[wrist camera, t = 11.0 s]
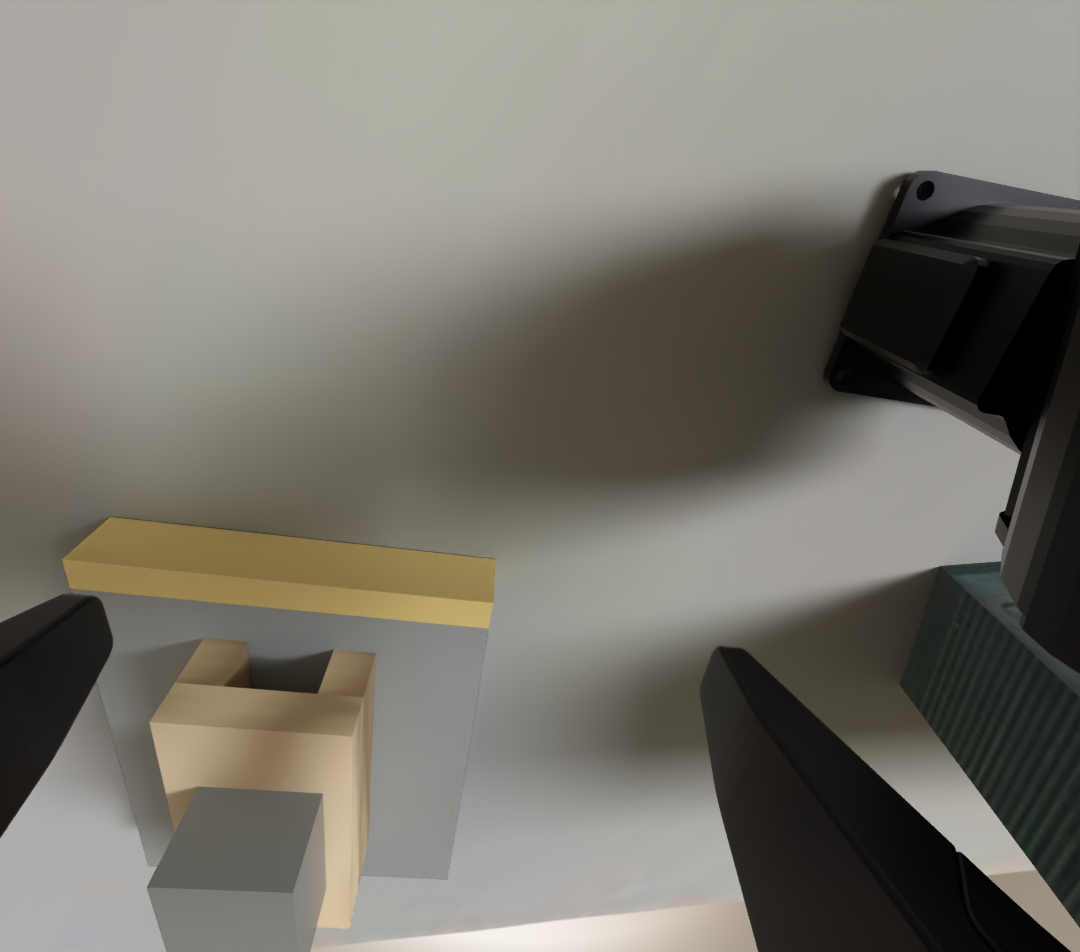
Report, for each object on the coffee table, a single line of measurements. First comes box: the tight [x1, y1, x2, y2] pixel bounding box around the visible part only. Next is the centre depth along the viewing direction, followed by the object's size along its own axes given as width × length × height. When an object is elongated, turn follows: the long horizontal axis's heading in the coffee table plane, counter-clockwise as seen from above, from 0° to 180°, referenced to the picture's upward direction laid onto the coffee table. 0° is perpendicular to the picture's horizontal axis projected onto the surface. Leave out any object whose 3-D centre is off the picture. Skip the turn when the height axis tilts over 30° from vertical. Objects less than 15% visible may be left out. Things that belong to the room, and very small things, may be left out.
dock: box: [62, 517, 495, 880], centre depth 25 cm, size 14×18×2 cm
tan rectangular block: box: [149, 638, 376, 928], centre depth 22 cm, size 6×12×4 cm, turn 171°
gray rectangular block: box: [147, 787, 326, 952], centre depth 19 cm, size 4×6×3 cm, turn 171°
